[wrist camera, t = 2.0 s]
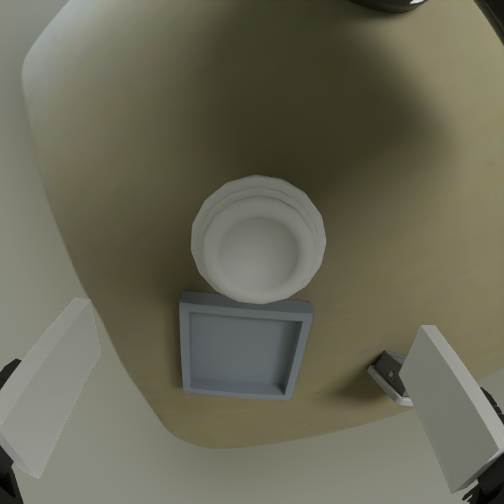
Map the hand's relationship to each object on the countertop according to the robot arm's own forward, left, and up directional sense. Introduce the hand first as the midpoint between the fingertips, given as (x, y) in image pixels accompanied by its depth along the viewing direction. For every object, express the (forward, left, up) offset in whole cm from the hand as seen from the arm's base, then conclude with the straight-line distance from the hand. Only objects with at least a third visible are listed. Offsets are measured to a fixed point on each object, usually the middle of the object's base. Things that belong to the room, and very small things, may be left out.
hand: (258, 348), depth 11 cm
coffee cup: (0, 0, -21) cm, 21 cm away
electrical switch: (+19, +22, -21) cm, 36 cm away
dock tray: (+17, 0, -20) cm, 26 cm away
